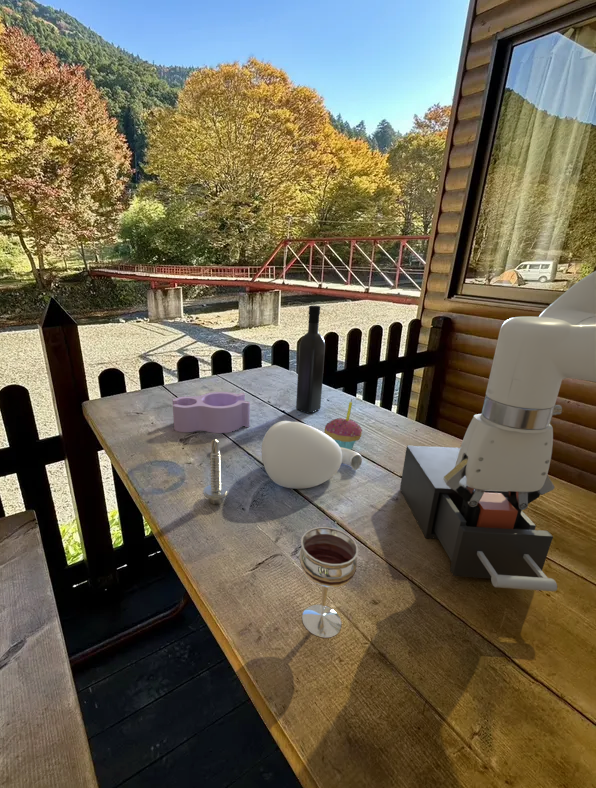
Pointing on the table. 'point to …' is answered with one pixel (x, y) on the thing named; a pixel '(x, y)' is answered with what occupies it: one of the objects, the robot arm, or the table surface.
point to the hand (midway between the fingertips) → (486, 524)
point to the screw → (215, 477)
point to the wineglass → (326, 573)
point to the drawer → (493, 548)
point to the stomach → (303, 455)
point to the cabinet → (428, 482)
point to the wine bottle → (310, 365)
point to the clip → (211, 412)
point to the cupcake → (344, 430)
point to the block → (496, 512)
